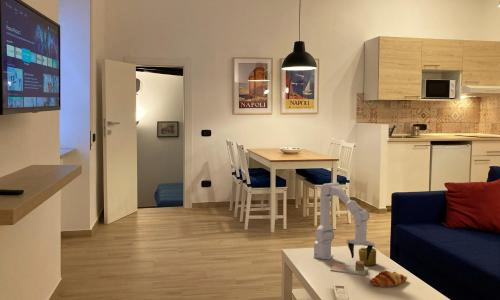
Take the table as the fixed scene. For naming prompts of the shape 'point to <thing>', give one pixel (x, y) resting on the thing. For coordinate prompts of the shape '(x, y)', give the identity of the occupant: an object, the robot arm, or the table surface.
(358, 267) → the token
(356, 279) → the table surface
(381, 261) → the table surface
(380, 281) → the croissant
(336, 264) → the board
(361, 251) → the mug
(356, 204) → the robot arm
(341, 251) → the table surface
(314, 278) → the table surface
